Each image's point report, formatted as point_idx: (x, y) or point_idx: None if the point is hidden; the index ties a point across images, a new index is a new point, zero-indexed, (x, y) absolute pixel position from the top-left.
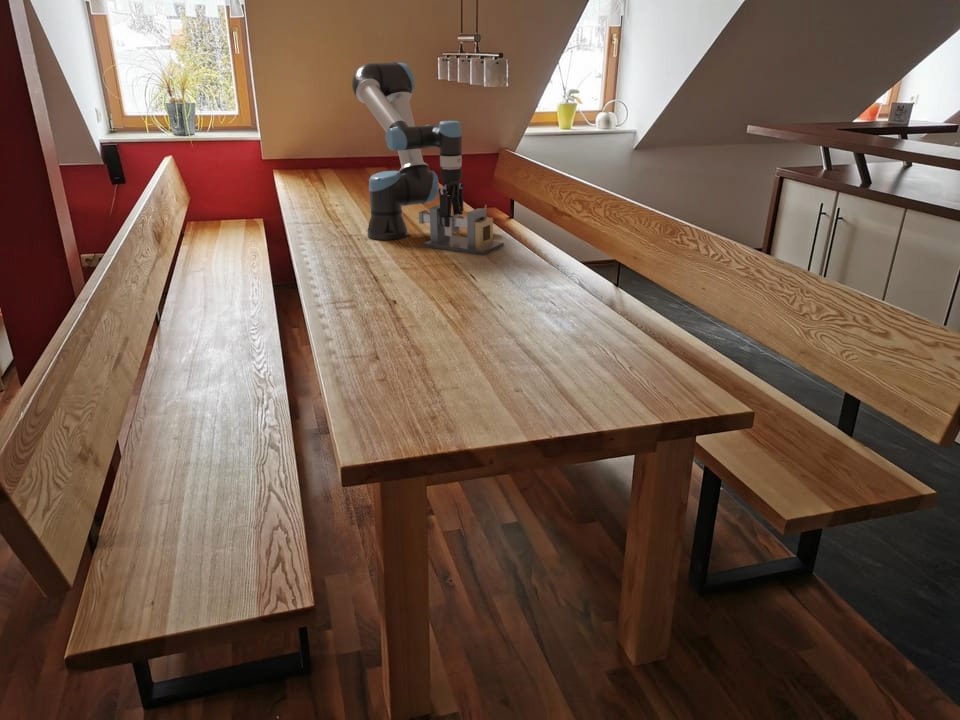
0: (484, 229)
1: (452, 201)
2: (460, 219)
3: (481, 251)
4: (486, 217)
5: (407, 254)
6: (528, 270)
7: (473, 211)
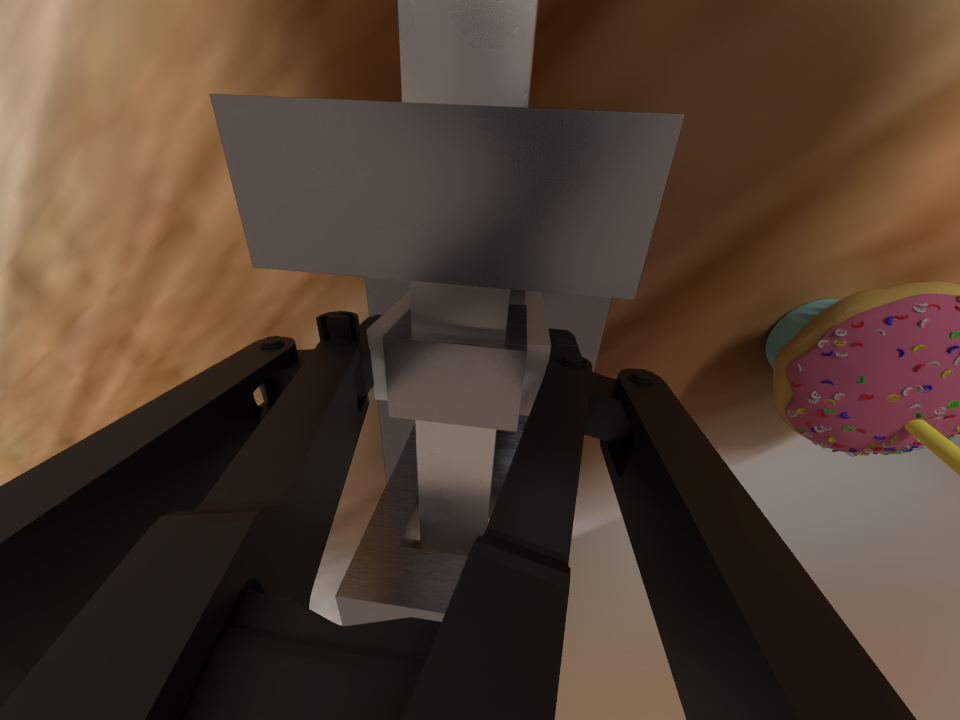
0: None
1: (515, 462)
2: (420, 457)
3: (386, 480)
4: (906, 439)
5: (171, 135)
6: (330, 601)
7: None
